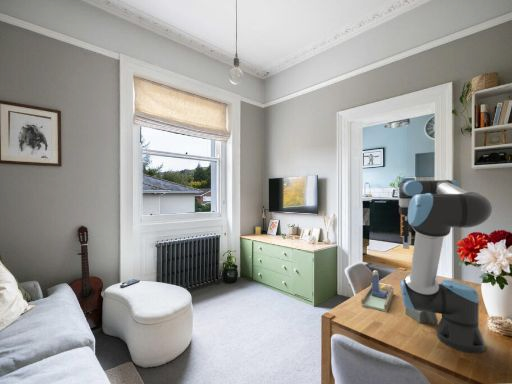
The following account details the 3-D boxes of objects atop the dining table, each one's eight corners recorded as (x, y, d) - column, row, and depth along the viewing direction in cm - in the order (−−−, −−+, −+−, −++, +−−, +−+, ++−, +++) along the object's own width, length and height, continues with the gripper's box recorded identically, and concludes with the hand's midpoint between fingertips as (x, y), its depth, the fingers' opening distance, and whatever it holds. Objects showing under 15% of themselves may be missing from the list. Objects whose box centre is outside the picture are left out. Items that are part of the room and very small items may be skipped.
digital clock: (440, 326, 113) (440, 303, 113) (420, 326, 113) (420, 302, 113) (418, 309, 129) (418, 289, 129) (400, 309, 129) (400, 288, 129)
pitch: (386, 311, 127) (386, 299, 127) (361, 305, 133) (361, 294, 133) (393, 294, 149) (393, 283, 149) (371, 289, 156) (371, 279, 156)
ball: (388, 285, 149) (388, 292, 149) (381, 283, 152) (381, 290, 151) (387, 287, 146) (387, 294, 146) (379, 285, 148) (379, 292, 148)
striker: (385, 298, 139) (385, 273, 139) (371, 295, 143) (371, 271, 143) (386, 294, 144) (386, 270, 144) (373, 291, 148) (373, 268, 148)
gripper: (413, 208, 121) (414, 251, 121) (416, 205, 141) (416, 243, 141) (396, 207, 125) (396, 249, 125) (401, 205, 146) (401, 241, 146)
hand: (407, 246), depth 133 cm, fingers open, 13 cm apart
